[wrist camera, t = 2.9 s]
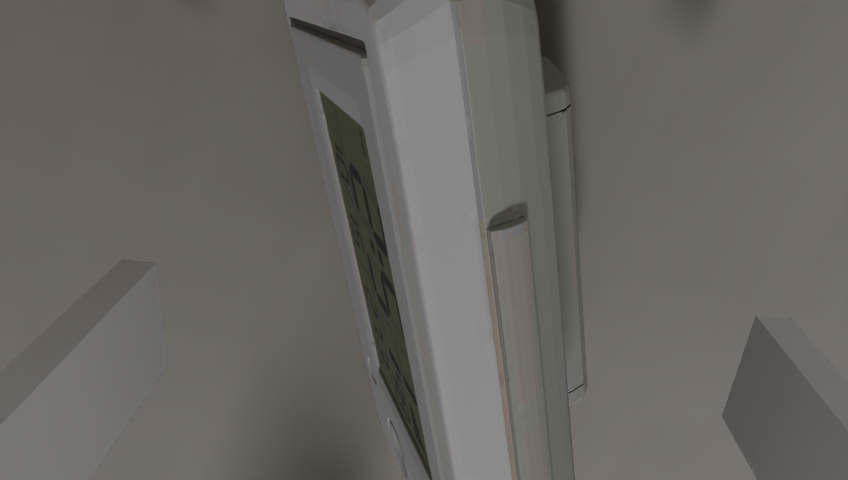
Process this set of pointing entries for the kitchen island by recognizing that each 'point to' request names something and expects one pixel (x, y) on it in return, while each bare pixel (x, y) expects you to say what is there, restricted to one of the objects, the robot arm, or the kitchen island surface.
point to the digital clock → (453, 226)
